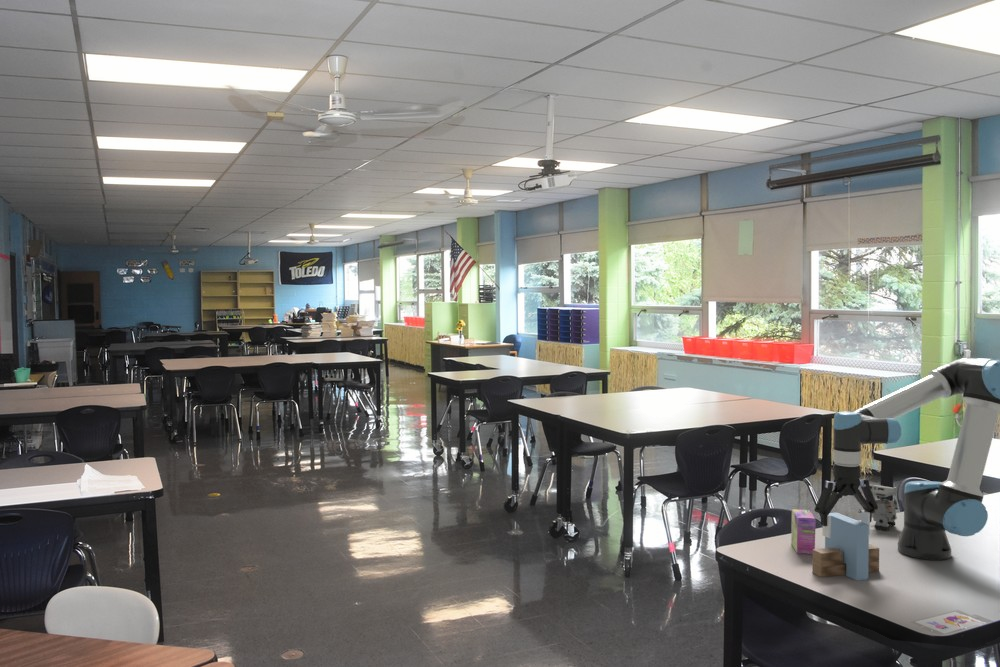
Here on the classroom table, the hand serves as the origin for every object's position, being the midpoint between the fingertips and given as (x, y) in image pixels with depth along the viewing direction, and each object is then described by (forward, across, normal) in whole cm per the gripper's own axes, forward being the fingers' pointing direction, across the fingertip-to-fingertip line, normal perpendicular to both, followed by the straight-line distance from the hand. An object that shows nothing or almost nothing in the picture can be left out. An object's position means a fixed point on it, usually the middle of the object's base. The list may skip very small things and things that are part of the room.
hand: (846, 534), depth 228 cm
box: (+11, -1, -22) cm, 25 cm away
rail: (+11, 0, 0) cm, 11 cm away
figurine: (+11, -44, -38) cm, 59 cm away
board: (+11, 0, 0) cm, 11 cm away
